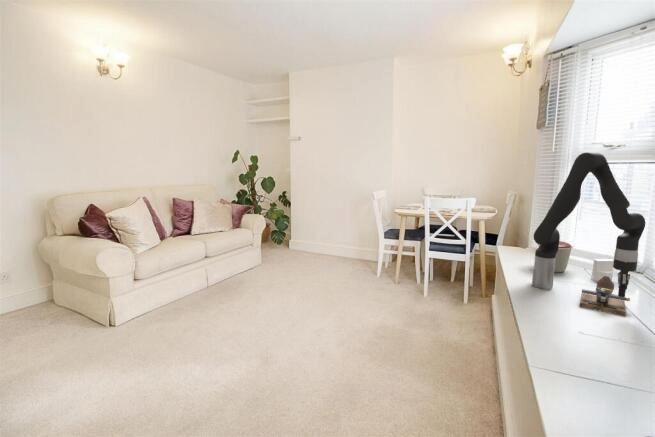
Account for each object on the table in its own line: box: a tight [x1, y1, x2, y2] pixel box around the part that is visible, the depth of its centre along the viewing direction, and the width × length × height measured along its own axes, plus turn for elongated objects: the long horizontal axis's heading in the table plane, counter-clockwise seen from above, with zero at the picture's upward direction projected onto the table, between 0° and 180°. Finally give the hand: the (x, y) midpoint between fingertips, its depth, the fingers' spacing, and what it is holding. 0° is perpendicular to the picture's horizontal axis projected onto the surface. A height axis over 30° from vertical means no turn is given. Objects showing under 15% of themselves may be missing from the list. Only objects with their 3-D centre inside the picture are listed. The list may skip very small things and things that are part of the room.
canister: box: [537, 240, 574, 273], centre depth 200 cm, size 18×18×21 cm
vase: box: [596, 276, 615, 294], centre depth 165 cm, size 7×7×9 cm
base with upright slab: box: [591, 258, 614, 283], centre depth 182 cm, size 9×9×12 cm
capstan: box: [581, 287, 631, 303], centre depth 150 cm, size 17×16×6 cm
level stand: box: [579, 292, 627, 317], centre depth 151 cm, size 16×14×3 cm
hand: (621, 296), depth 142 cm, fingers closed
